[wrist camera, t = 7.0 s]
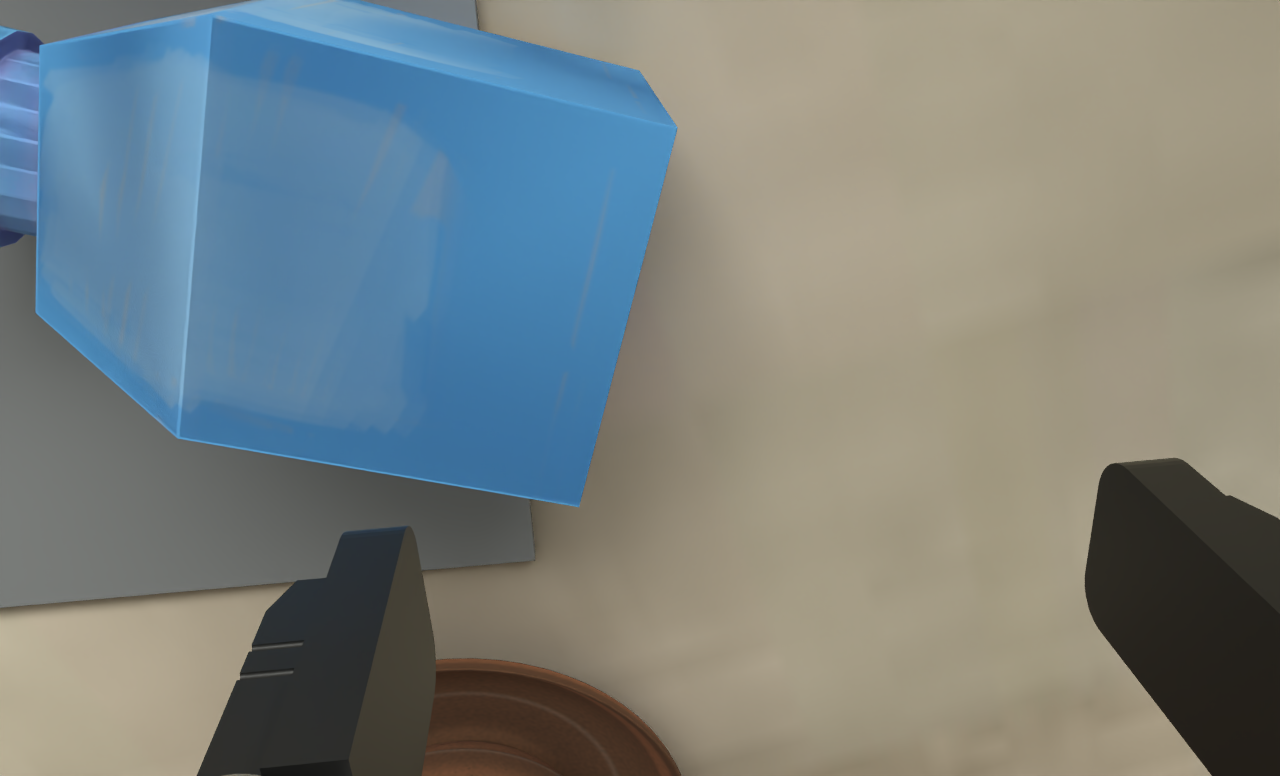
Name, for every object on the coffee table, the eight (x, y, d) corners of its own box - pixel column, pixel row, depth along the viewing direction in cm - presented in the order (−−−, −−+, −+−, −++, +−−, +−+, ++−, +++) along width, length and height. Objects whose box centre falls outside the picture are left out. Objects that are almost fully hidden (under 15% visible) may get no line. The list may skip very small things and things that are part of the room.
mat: (466, -90, 19) (464, -91, 18) (535, 551, 24) (534, 560, 24) (-337, -50, 18) (-355, -50, 17) (-66, 603, 24) (-76, 614, 23)
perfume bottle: (579, 506, 16) (-256, 364, 14) (570, 359, 22) (-28, 240, 20) (677, 128, 14) (-306, -112, 12) (639, 70, 20) (-32, -99, 17)
